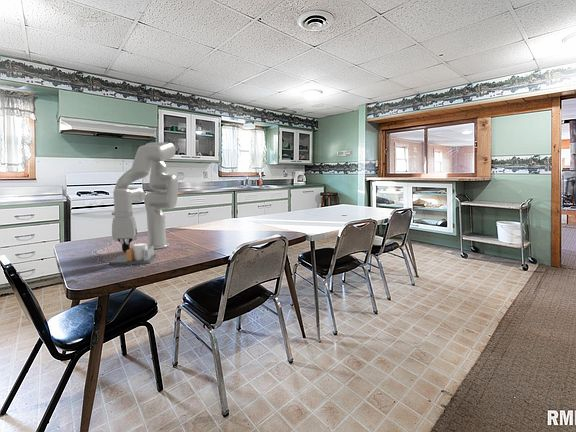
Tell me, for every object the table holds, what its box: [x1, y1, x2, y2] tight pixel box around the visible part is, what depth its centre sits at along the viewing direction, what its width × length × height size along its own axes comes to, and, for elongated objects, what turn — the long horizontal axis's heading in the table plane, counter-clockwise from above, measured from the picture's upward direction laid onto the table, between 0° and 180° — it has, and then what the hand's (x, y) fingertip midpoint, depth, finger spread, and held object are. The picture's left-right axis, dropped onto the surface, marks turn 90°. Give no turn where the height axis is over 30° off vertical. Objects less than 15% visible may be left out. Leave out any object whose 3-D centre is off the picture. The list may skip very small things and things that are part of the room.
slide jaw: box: [125, 246, 134, 261], centre depth 150 cm, size 2×10×5 cm, turn 8°
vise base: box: [108, 246, 158, 266], centre depth 151 cm, size 18×12×6 cm, turn 98°
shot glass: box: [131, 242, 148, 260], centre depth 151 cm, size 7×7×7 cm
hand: (126, 251), depth 150 cm, fingers closed
